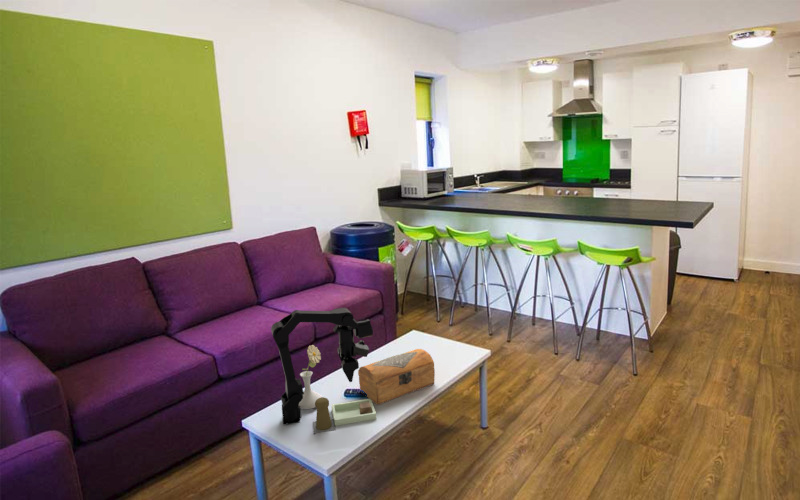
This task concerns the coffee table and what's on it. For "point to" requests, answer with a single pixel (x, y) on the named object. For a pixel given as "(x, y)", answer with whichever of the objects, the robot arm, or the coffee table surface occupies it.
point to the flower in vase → (309, 395)
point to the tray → (351, 412)
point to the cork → (322, 414)
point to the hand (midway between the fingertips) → (349, 376)
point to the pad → (324, 430)
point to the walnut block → (365, 408)
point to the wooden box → (397, 375)
